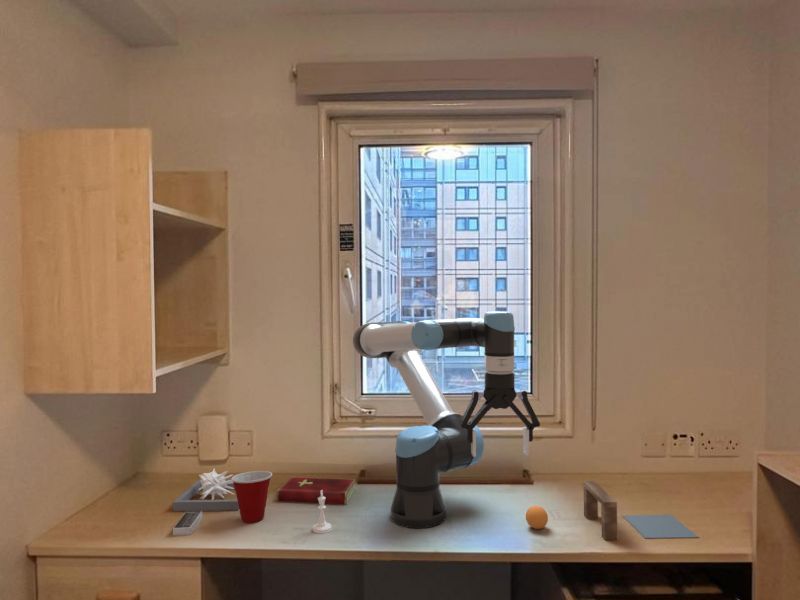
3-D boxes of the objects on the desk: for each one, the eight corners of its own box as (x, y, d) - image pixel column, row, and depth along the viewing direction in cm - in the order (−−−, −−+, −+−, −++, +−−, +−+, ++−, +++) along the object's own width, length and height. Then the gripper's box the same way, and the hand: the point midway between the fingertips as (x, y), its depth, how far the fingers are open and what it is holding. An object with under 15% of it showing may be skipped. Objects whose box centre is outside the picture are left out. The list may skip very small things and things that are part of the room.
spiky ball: (236, 492, 164) (236, 464, 165) (239, 501, 153) (239, 472, 154) (198, 497, 160) (198, 469, 161) (198, 507, 149) (198, 476, 150)
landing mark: (645, 538, 126) (645, 537, 126) (622, 516, 139) (622, 515, 139) (698, 537, 126) (698, 536, 126) (671, 515, 139) (671, 514, 139)
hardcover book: (346, 506, 150) (346, 492, 150) (276, 503, 153) (276, 489, 153) (356, 491, 162) (356, 478, 162) (291, 488, 165) (291, 475, 165)
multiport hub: (172, 537, 132) (172, 528, 132) (186, 519, 143) (185, 510, 143) (190, 536, 132) (190, 527, 132) (202, 518, 143) (202, 510, 143)
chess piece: (313, 534, 131) (313, 494, 131) (311, 526, 136) (310, 488, 136) (333, 531, 132) (332, 492, 132) (330, 523, 137) (329, 486, 137)
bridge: (604, 540, 125) (604, 502, 125) (584, 515, 140) (583, 481, 140) (617, 540, 125) (616, 502, 125) (595, 515, 140) (594, 481, 140)
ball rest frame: (172, 511, 147) (172, 502, 147) (198, 487, 166) (198, 479, 166) (238, 510, 147) (238, 501, 147) (256, 486, 166) (256, 478, 166)
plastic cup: (270, 508, 148) (269, 466, 148) (275, 523, 138) (275, 477, 138) (230, 514, 144) (229, 471, 144) (232, 530, 134) (232, 483, 134)
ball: (528, 533, 130) (528, 510, 130) (523, 523, 136) (523, 502, 136) (550, 532, 130) (550, 510, 130) (544, 523, 136) (544, 502, 136)
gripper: (453, 374, 129) (453, 460, 129) (552, 373, 130) (552, 458, 130) (449, 370, 137) (449, 450, 137) (542, 369, 138) (543, 449, 138)
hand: (499, 454), depth 134 cm, fingers open, 13 cm apart
